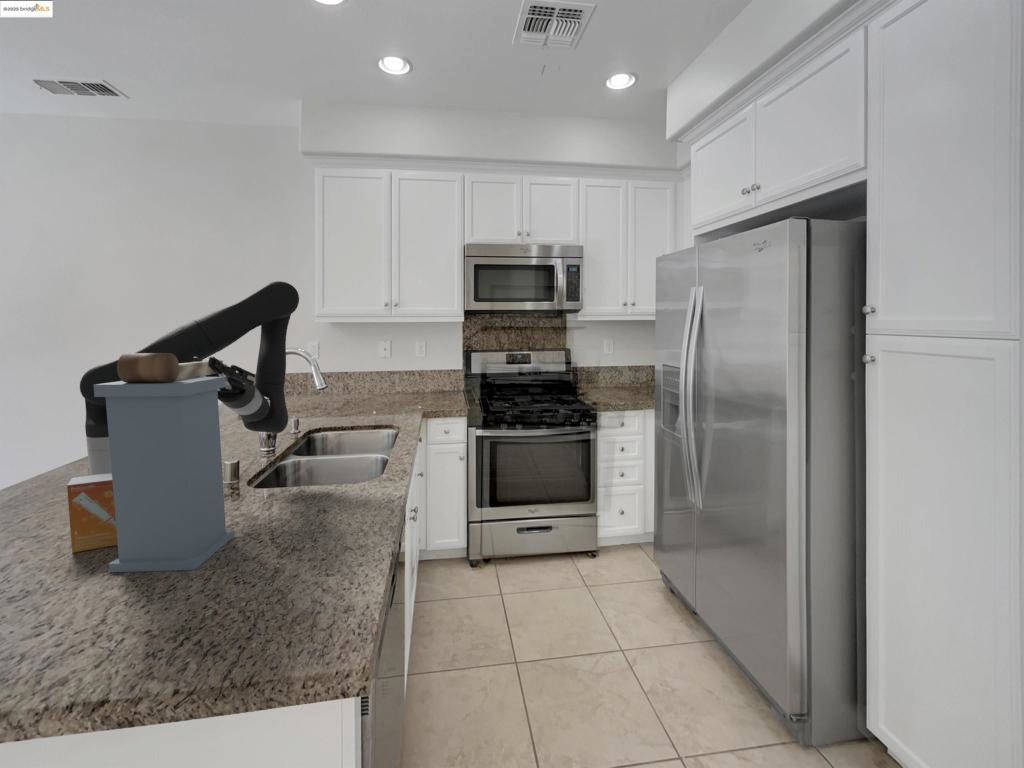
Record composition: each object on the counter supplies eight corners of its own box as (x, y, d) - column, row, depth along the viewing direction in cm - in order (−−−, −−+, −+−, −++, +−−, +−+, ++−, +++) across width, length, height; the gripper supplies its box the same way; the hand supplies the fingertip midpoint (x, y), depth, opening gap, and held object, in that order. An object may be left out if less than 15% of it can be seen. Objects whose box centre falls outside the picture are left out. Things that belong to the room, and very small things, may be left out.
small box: (71, 554, 93) (65, 485, 92) (77, 542, 99) (71, 476, 97) (126, 544, 98) (121, 478, 96) (129, 533, 103) (124, 470, 102)
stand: (109, 572, 86) (93, 384, 83) (160, 539, 100) (148, 377, 97) (195, 569, 87) (182, 384, 84) (234, 537, 101) (224, 376, 98)
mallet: (162, 383, 84) (160, 353, 84) (118, 384, 84) (115, 353, 83) (234, 372, 109) (232, 348, 108) (200, 372, 108) (198, 349, 108)
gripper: (211, 379, 120) (171, 344, 104) (272, 379, 121) (241, 344, 105) (204, 409, 117) (162, 377, 101) (267, 408, 118) (234, 377, 102)
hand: (202, 360), depth 103 cm, fingers closed on mallet, 2 cm apart
